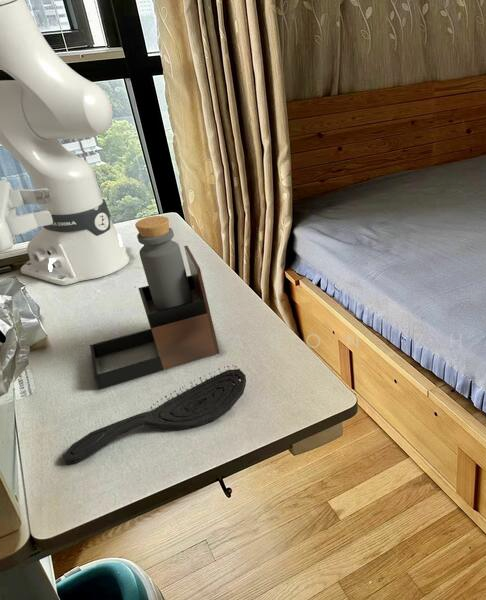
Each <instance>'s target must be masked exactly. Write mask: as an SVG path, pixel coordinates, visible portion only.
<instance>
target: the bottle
mask: <svg viewBox="0 0 486 600" xmlns="http://www.w3.org/2000/svg"><path fill="white" fill-rule="evenodd" d="M135 229H136V230H137V231H138V234H137V236H136V238H137V242H138V243H139V244H141V245H143V246H142V247H141V248H140V249H139V251H138V253H139V257H140V261H141V265H142V268H143V271H144V275H145V278H146V282H147V286H149V289H150V292H151V296H152V299H153V302H154V305H155V309H156V311H158V310H162V309H166V308H170V307H174V306H178V305H182V304H185V303H189V302H193V299H192V295H191V291H190V287H189V282H188V278H187V276H188V275H187V271H186V270H187V269H186V266H185V263H184V259H183V254H182V252H181V251H182V250H181V248H180V244H179V243H177V242H176V241H174V240H172V239H173V238H174V237H175V234H174V229H173V228H171V227H170V219H169V218H168V217H167V216H164V215H154V216H153V215H152V216H148V217H145V218H141V219H139V220H137V221H136V222H135Z"/></svg>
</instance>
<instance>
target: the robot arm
mask: <svg viewBox="0 0 486 600" xmlns="http://www.w3.org/2000/svg"><path fill="white" fill-rule="evenodd" d="M0 70H1V71H3V72H4V73H6V74H8V75H9V76H10V77H11V78H13V80H12V79H11V80H10V79H9V80H7V79H5V80H0V145H1V146H2V147H3V148H4V149H6V150H7V151H8V152H9V153H10V154H11V155H12V156H13V157H14V158H15V159H16V160H17V161H18V162H19V163H20V165H21V166H22V167H23V169H24V170H25V171H26V173H27V174H28V176H29V178H30V180H31V182H32V184H33V186H34V188H35V189H31V188H30V189H29V188H16V189H13V186H12V184H11V183H10V181H8V180H1V179H0V254H1V253H3V252H6V251H8V250H10V249H12V248H13V244H14V237H15V236H17V235H23V234H26V233H28V232H31V231H32V230H35V229H38V228H41V227H42V228H41V229H39V231H38V232H37V233H36V234H35V235H34V236H33V237H32V238H31V239H30V240H29V242H28V243H27V247H26V250H27V254H28V258H29V260H28V261H26V262H25V263H24V264H23V265H22V266H21V267H20V273H21V274H23V275H26V276H29V277H33V278H36V279H38V280H39V279H40V280H42V281H46V282H49V283H52V284H56V285H59V286H68V285H71V284H72V285H73V284H76V283H78V282H82V281H89V280H95V279H99V278H102V277H105V276H109V275H111V274H113V273H116V272H117V271H119V270H121V269H123V268H124V267H125V266H127V265H128V263H129V262H130V256H129V254H128V253H127V248H126V245H125V244H123V241H122V238H121V235H120V234H118V232H117V229H116V227H115V225H114V223H113V221H112V219H111V213H110V211H109V206H108V205H107V202H106V200H105V199H104V198H103V196H102V193H101V190H100V186H99V182H98V180H97V176H96V173H95V170H94V168H93V167H92V165H91V163H89V162H88V161H87V160H86V159H84V158H82V157H81V156H78V155H75V154H74V153H72V152H70V151H69V150H68V149H66V148H65V146H64V145H62V143H61V142H60V141H62V140H83V139H87V138H92V137H97V136H100V135H104V134H106V133H107V132H108V130H109V129H110V127H111V126H112V123H113V118H114V110H113V104H112V102H111V99H110V98H109V96H108V95H107V93H106V92H105V91H104V90H103V89H102V87H101V86H99V85H98V84H97V83H95V82H94V81H91V80H89V79H87V78H85V77H83V76H82V75H80V74H79V73H78V72H77V71H75V70H74V69H72V68H71V67H70V66H69V65H68V64H67V63H66V62H65V61H64V60H63V59H62V58H61V57H60V56H59V55H58V53H56V51H54V50H53V48H52V47H51V46H50V44H49V43H48V41H47V40H46V38H45V37H44V35H43V33H42V31H41V29H40V28H39V25H38V24H37V21H36V19H35V18H34V16H33V13H32V12H31V10H30V8H29V5H28V3H27V2H26V0H0ZM59 140H60V141H59ZM32 204H33V205H34V204H37V205H41V206H42V209H34V210H32V212H28V213H25V214H19V215H18V214H17V208H20V207H24V206H25V205H32Z"/></svg>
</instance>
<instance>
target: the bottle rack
mask: <svg viewBox="0 0 486 600" xmlns="http://www.w3.org/2000/svg"><path fill="white" fill-rule="evenodd" d="M183 247H184V251H185V255H186V260H187V262H188V263H187V264H188V268H189V272H190V275H187V278H188V282H189V287H190V291H191V295H192V299H193V302H189V303H185V304H182V305H178V306H174V307H170V308H166V309H162V310H158V311H156V309H155V305H154V302H153V299H152V296H151V292H150V289H149V285H145V286H142V287H141V286H140V287H138V289H137V290H138V291H139V296H140V298H141V301H142V306H143V308H144V311H145V315H146V318H147V322H148V324H149V328H147V329H142V330H140V331H136V332H133V333H129V334H126V335H122V336H118V337H114V338H111V339H107V340H104V341H99V342H95V343H91V344H89V350H90V357H91V358H90V359H91V365H92V366H91V367H92V373H93V379H94V381H95V384H96V386H97V389H98V390H99V391H100V390H102V389H103V390H104V389H106V388H109V387H112V386H117V385H119V384H123V383H127V382H130V381H133V380H136V379H139V378H142V377H146V376H149V375H152V374H155V373H159V372H163V371H165V370H169V369H171V368H172V369H173V368H176V367H178V366H182V365H184V364H188V363H191V362H195V361H198V360H201V359H204V358H207V357H208V358H209V357H211V356H215V355H219V354H220V348H219V344H218V340H217V335H216V331H215V326H214V322H213V319H212V318H213V317H212V314H211V309H210V306H209V301H208V296H207V292H206V288H205V284H204V283H205V282H204V278H203V276H202V275H203V274H202V271H201V267H200V266H199V264H198V262H197V260H196V258H195V257H194V255H193V253H192V251H191V250H190V248H189V246H188V245H183ZM151 343H154V344H155V347H156V350H157V354H158V356H156V357H152V358H148V359H145V360H142V361H138V362H135V363H131V364H128V365H124V366H120V367H118V368H115V369H114V368H113V369H111V370H108V371H105V372H101V371H100V363H99V358H101V357H105V356H108V355H112V354H115V353H118V352H123V351H126V350H130V349H133V348H137V347H140V346H144V345H147V344H151Z"/></svg>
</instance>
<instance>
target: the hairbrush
mask: <svg viewBox="0 0 486 600" xmlns="http://www.w3.org/2000/svg"><path fill="white" fill-rule="evenodd" d="M226 367H227V368H228V369H227V370H226ZM226 367H225V365H224V366H223V368H224V370H225V371H221V368H220V367H219V368H217V369H218V371H219V374H217V373H216V371H215V370H214V371H213V372H214V373H215V374H216V375H215V374H214V375H213V376H212V375H211V372H208V374H209V375H210V378H206V376H204V378H205V379H204V381H203V379H202V377H201V376H200V377H198V378H199V380H200V383H199V384H198V383H195V386H194V384H193V382H192V381H190V383H189V385H190V386H191V388H189V389H188V388H186V390H181V387H182V389H183V388H184V386H181V387H179V390H180V392H181V393H180V394H179V393H178V392H177V390H174V393H175V394H176V396H174V397H173V395H172V393H170V395H171V398H170V397H167V395H164V398H166V399H165V402H162V404H160V405H158V406H156V407H154V409H153V407H152V406H150V409H151V410H148V411H145V412H140V413H138V414H135V415H132V416H129V417H126V418H124V419H121V420H118V421H115V422H113V423H110V424H108V425H105V426H102V427H101V428H98V429H95V430H93V431H90V432H88V433H87V434H86V435H85V436H83V437H81V438H80V439H78V440H77V441H75V442H74V443H73V444H71V446H69V448H68V449H67V450H66V451H64V453H63V454H62V461H63V462H64V464H65V465H69V464H74V463H78V462H79V463H80V462H81V461H83V460H84V459H86V458H88V457H89V456H91V455H93V454H95V453H96V452H98V451H100V450H101V449H102V448H104V447H106V446H107V445H108V444H110V443H111V442H112V441H113V442H114V440H115V439H117V438H119V437H120V436H123V435H125V434H128V433H131V432H132V431H134V430H136V429H140V427H143V426H146V427H153V428H161V429H163V428H164V429H171V430H179V431H180V430H186V429H187V430H188V429H194V428H195V429H196V428H199V427H201V426H204V425H207V424H209V423H212V422H215V421H216V420H217V419H219V418H220V417H222V416H223V415H225V414H226V413H228V412H230V411H231V410H232V408H233V407H234V405H235V404H236V403H237V402H238V401H239V400H240V398H241V397H242V396H243V395H244V393H245V388H246V384H247V378H246V374H245V373H244V371H242V370H241V368H239V367H238V366H237V365H234V364H232V367H235V368H233V369H230V368H229V365H227V366H226ZM193 381H194V382H196V379H194V380H193ZM160 400H163V398H162V397H161V398H160ZM166 400H167V401H166ZM156 403H159V401H158V400H157V401H156ZM152 405H153V406H155V404H154V403H153V404H152Z"/></svg>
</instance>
